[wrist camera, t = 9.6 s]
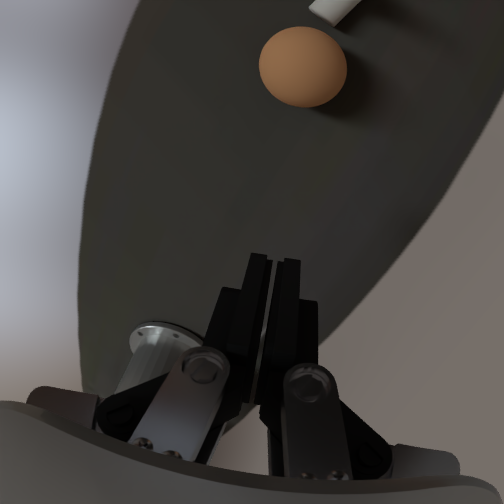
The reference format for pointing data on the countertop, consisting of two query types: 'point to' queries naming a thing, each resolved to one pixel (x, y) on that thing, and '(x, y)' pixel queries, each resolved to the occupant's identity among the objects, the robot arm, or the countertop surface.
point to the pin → (332, 10)
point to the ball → (303, 67)
